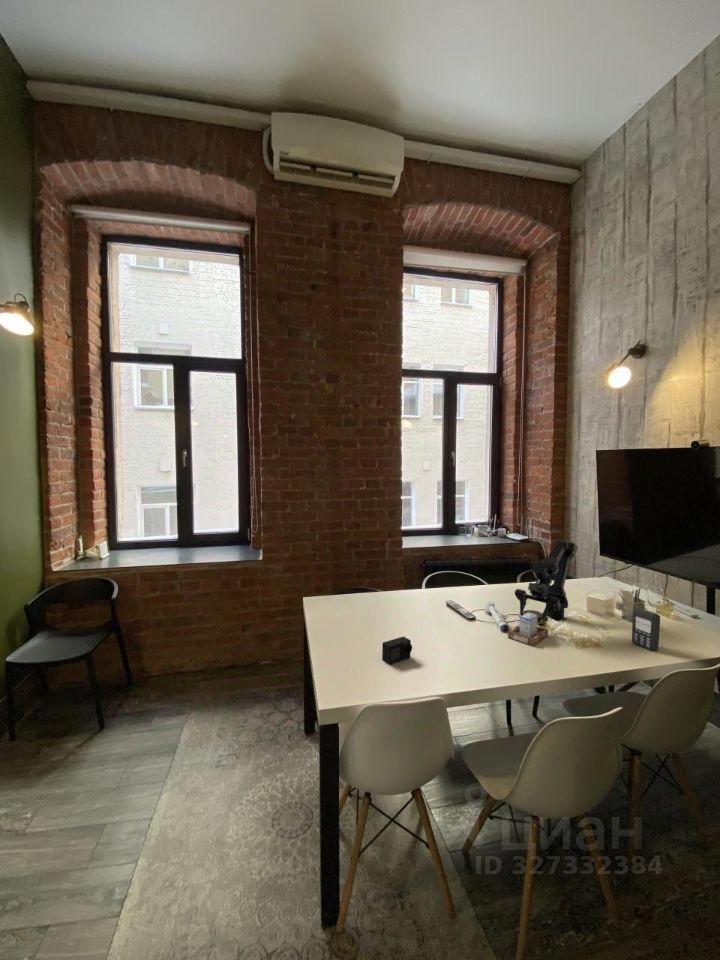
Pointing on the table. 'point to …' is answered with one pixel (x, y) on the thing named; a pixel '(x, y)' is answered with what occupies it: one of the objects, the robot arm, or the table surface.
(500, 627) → the white stick
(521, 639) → the tray
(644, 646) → the card reader
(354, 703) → the table surface
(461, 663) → the table surface
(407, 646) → the digital camera
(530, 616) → the medicine box
